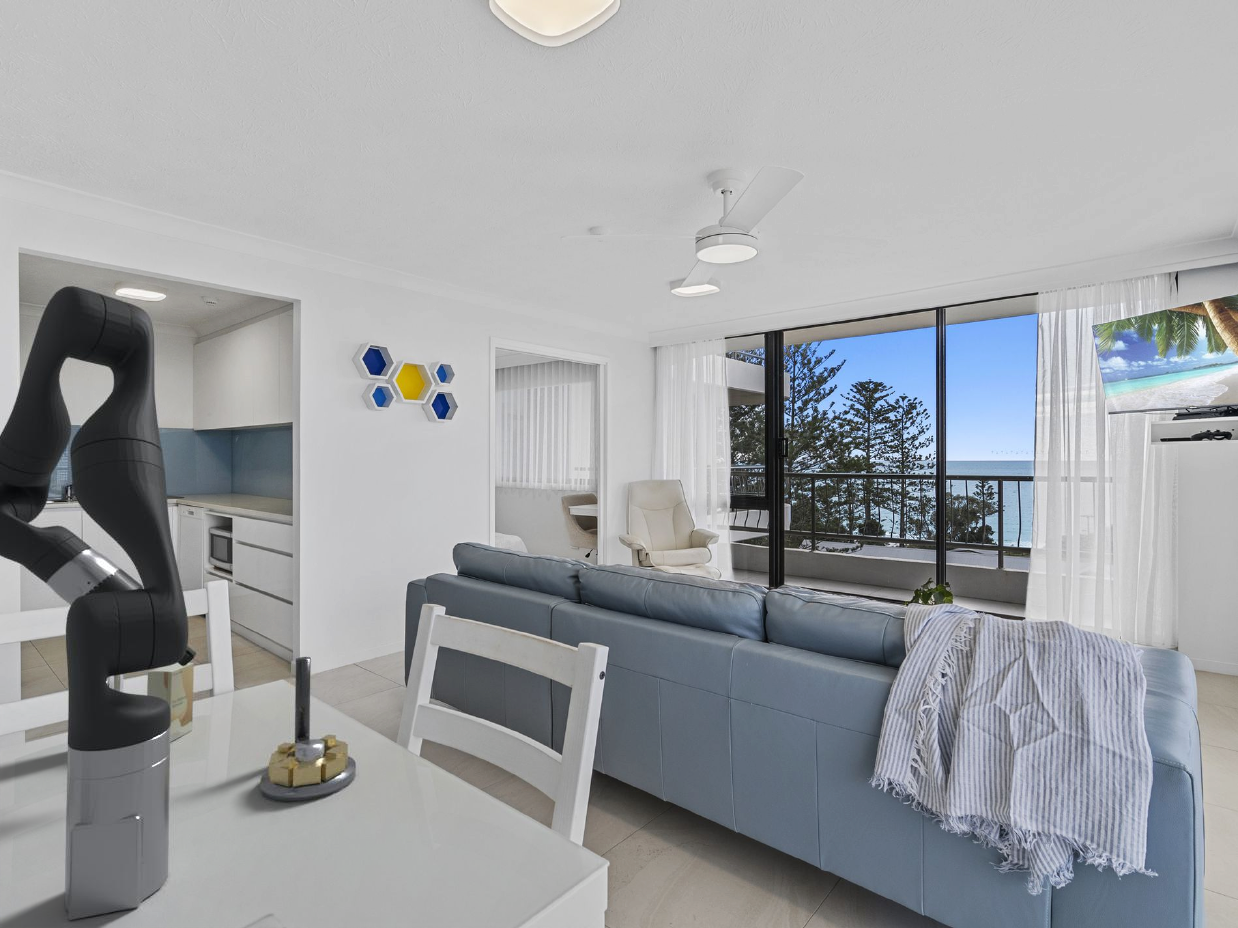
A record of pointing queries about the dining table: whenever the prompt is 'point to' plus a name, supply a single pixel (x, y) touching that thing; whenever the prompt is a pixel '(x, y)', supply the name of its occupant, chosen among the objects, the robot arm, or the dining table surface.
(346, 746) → the lever crank
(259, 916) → the dining table surface
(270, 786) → the flange
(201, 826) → the dining table surface
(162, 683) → the skincare box
